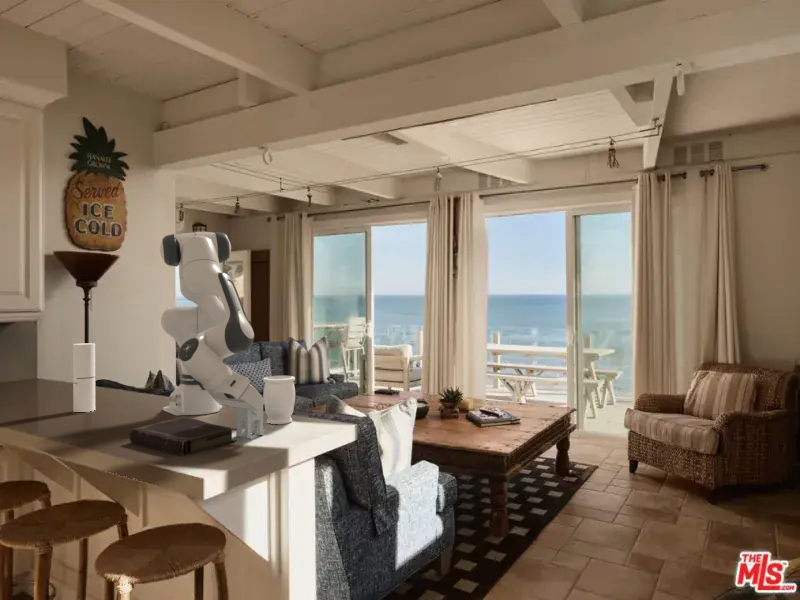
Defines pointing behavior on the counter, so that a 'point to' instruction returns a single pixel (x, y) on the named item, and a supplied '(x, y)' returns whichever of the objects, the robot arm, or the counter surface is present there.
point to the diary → (182, 435)
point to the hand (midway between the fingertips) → (251, 412)
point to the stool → (248, 422)
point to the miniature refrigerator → (84, 377)
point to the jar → (279, 398)
